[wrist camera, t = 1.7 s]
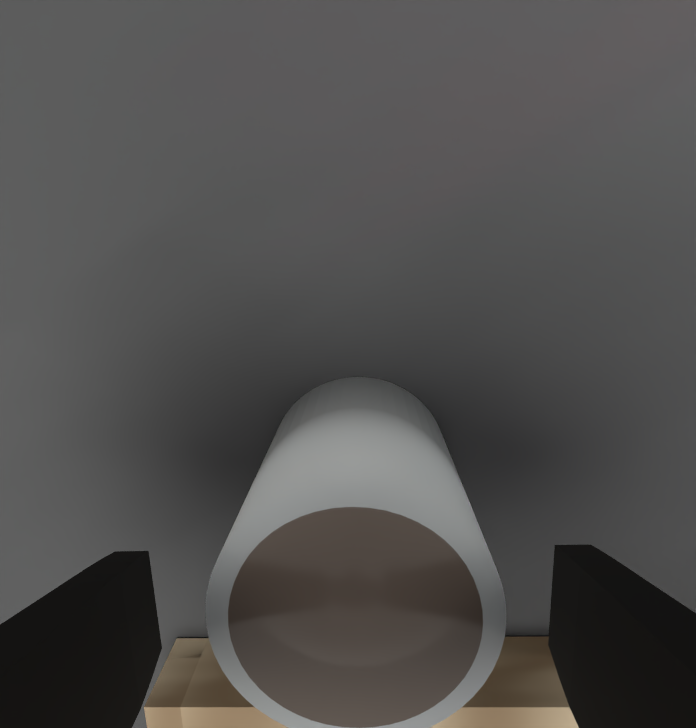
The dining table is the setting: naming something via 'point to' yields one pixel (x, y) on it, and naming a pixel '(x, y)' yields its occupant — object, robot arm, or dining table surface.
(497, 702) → the tray
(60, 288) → the dining table surface
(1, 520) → the dining table surface
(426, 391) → the dining table surface
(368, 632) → the espresso cup
